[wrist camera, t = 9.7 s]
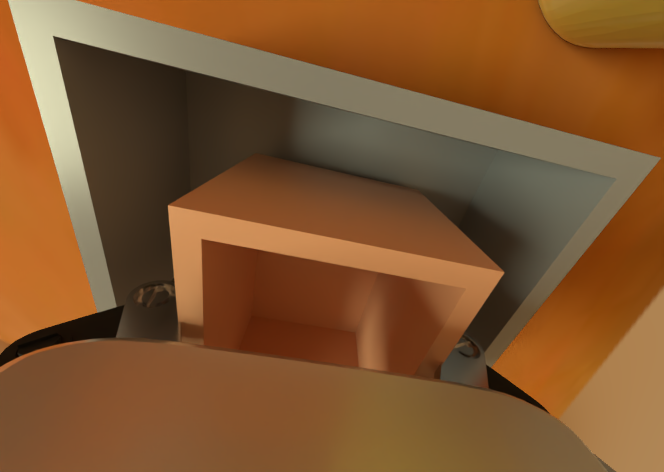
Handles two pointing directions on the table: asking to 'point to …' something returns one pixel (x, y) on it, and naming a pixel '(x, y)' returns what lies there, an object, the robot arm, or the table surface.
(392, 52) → the table surface
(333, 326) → the terracotta crate
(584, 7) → the plant pot
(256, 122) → the grey crate
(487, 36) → the table surface
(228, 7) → the table surface
